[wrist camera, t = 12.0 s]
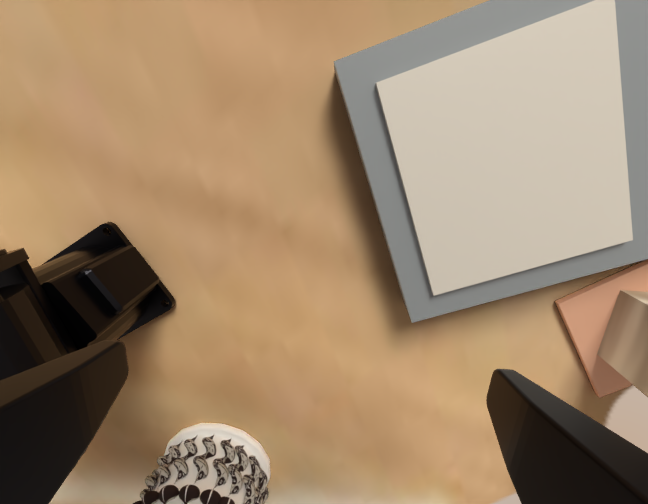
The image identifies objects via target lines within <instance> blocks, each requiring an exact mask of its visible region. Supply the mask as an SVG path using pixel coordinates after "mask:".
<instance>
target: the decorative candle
mask: <svg viewBox="0 0 648 504" xmlns="http://www.w3.org/2000/svg"><path fill="white" fill-rule="evenodd" d="M157 463H158V464H159V467H158V469H155V470H154V471H153V473H152V475H149V476H148V477H147V478H146V480H145V483H146V485H147V487H148V489H144V490H143V491H142V492H141V494H140V497H141V499H142V501H137V502H135V503H133V504H264V503H265V501H266V500H267V498H268V489H267V484H268V481H269V479H270V476H271V470H270V458H269V457H268V455H267V453H266V452H265V450H264V448H263V447H262V445H261V444H260V443H259V442H258V441H257V440H256V439H254V438H253V437H252V436H250V435H249V434H248V433H246V432H245V431H244V430H241V429H238V428H235V427H232V426H229V425H226V424H223V423H199V424H196V425H193V426H190V427H186V428H183V429H182V430H181V431H179V432H178V433H177V434H176V435H175V436H174V437H173V438H172V439H171V440H170V441H169V442H168V444H167V447H166V450H165V453H164V456H159V457H158V459H157Z"/></svg>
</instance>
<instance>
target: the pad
mask: <svg viewBox="0 0 648 504" xmlns="http://www.w3.org/2000/svg"><path fill="white" fill-rule="evenodd" d="M620 290H628V291H643V292H648V259H647V260H645V261H642V262H640V263H638V264H636V265H633V266H631V267H629V268H627V269H625V270H622V271H620V272H618V273H616V274H614V275H611V276H609V277H607V278H605V279H602V280H600V281H598V282H596V283H594V284H591V285H589V286H587V287H585V288H583V289H580V290H578V291H576V292H574V293H572V294H569V295H567V296H565V297H563V298H560V299H558V300H556V301H555V303H556V305H557V307H558V310H559V312H560V314H561V317H562V319H563V321H564V323H565V326H566V328H567V330H568V332H569V335H570V337H571V339H572V341H573V344H574V346H575V348H576V351H577V353H578V355H579V357H580V360H581V362H582V364H583V366H584V369H585V371H586V373H587V375H588V378H589V380H590V382H591V384H592V387H593V389H594V391H595V394H596V395H597V396H598V397H599V398H600V397H603V396H606V395H608V394H611V393H613V392H616V391H619V390H621V389H624V388H626V387H629V386H632V385H633V384H632V383H630V382H629V381H628V380H627V379H626V378H625V377H623V376H622V375H621V374H620V373H619V372H617V371H616V370H615V369H614V368H613V367H612V366H610V365H609V364H608V363H607V362H606V361H604V360H603V359H602V358H601V357H600V356H599V355H597V352H598V350H599V347H600V344H601V341H602V339H603V336H604V333H605V330H606V328H607V325H608V322H609V319H610V317H611V314H612V311H613V308H614V306H615V303H616V300H617V297H618V295H619V292H620Z"/></svg>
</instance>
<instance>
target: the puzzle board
mask: <svg viewBox="0 0 648 504" xmlns="http://www.w3.org/2000/svg"><path fill="white" fill-rule="evenodd" d="M334 69H335V74H336V77H337V81H338V84H339V87H340V91H341V94H342V97H343V101H344V104H345V107H346V111H347V114H348V117H349V121H350V124H351V127H352V131H353V134H354V137H355V141H356V144H357V147H358V151H359V154H360V157H361V161H362V164H363V167H364V171H365V174H366V177H367V181H368V184H369V187H370V191H371V194H372V197H373V201H374V204H375V207H376V211H377V214H378V217H379V221H380V224H381V227H382V231H383V234H384V237H385V241H386V244H387V247H388V251H389V254H390V257H391V261H392V264H393V267H394V271H395V274H396V277H397V281H398V284H399V287H400V291H401V294H402V297H403V301H404V304H405V306H406V309H407V312H408V314H409V317H410V319H411V322H412V323H413V322H417V321H421V320H424V319H428V318H432V317H435V316H439V315H443V314H447V313H450V312H454V311H458V310H461V309H465V308H469V307H472V306H476V305H480V304H484V303H487V302H491V301H495V300H498V299H502V298H506V297H509V296H513V295H517V294H521V293H524V292H528V291H532V290H535V289H539V288H543V287H546V286H550V285H554V284H557V283H561V282H565V281H569V280H572V279H576V278H580V277H583V276H587V275H591V274H594V273H598V272H602V271H606V270H609V269H613V268H617V267H620V266H624V265H628V264H631V263H635V262H639V261H643V260H646V259H648V0H489V1H487V2H484V3H482V4H479V5H476V6H474V7H471V8H469V9H466V10H464V11H461V12H459V13H456V14H454V15H451V16H448V17H446V18H443V19H441V20H438V21H436V22H433V23H431V24H428V25H426V26H423V27H421V28H418V29H415V30H413V31H410V32H408V33H405V34H403V35H400V36H398V37H395V38H393V39H390V40H387V41H385V42H382V43H380V44H377V45H375V46H372V47H370V48H367V49H365V50H362V51H359V52H357V53H354V54H352V55H349V56H347V57H344V58H342V59H339V60H337V61H334Z"/></svg>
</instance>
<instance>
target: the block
mask: <svg viewBox="0 0 648 504" xmlns="http://www.w3.org/2000/svg"><path fill="white" fill-rule="evenodd" d="M597 355H599V356H600V357H601V358H602V359H603V360H604V361H606V362H607V363H608V364H609V365H610V366H612V367H613V368H614V369H615V370H616V371H617V372H619V373H620V374H621V375H622V376H623V377H625V378H626V379H627V380H628V381H629V382H630V383H632V384H633V385H634V386H635V387H636V388H638V389H639V390H640V391H641V392H642V393H643V394H645V395H646V396H647V397H648V292H643V291H628V290H620V292H619V295H618V297H617V300H616V303H615V306H614V308H613V311H612V314H611V317H610V319H609V322H608V325H607V328H606V330H605V333H604V336H603V339H602V341H601V344H600V347H599V350H598V352H597Z"/></svg>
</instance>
